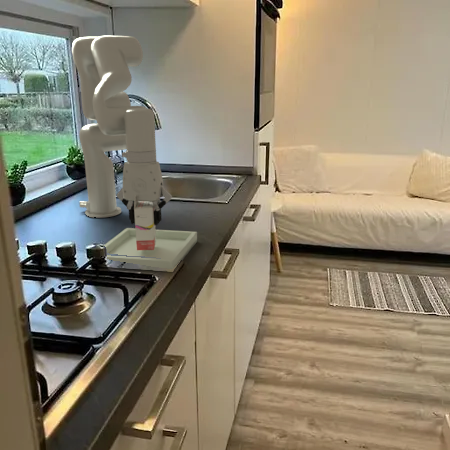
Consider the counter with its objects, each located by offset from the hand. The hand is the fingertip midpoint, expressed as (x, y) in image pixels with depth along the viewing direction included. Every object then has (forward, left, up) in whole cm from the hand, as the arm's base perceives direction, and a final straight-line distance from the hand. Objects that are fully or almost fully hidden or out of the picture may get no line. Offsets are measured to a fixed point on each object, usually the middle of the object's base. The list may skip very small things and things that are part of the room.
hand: (145, 222), depth 130 cm
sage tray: (0, 0, -9) cm, 9 cm away
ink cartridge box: (0, 0, -7) cm, 7 cm away
